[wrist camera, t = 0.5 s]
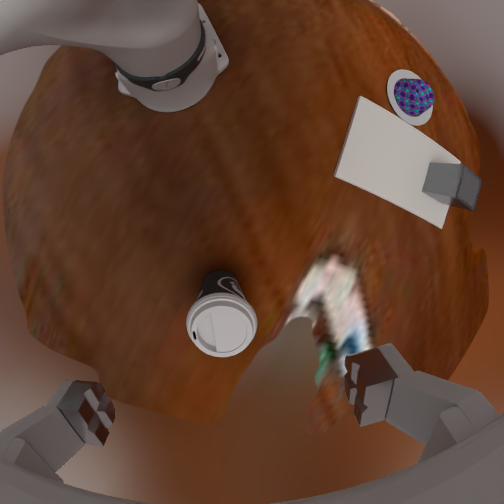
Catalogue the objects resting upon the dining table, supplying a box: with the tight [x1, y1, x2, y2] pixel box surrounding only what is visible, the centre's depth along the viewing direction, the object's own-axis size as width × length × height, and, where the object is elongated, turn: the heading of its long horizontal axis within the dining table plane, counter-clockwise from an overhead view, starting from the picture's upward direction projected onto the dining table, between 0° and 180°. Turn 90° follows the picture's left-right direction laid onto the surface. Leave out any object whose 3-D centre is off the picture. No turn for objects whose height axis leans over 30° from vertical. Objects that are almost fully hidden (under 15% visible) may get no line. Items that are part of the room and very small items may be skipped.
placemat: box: [333, 96, 461, 229], centre depth 47 cm, size 28×16×1 cm, turn 72°
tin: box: [422, 162, 482, 211], centre depth 43 cm, size 6×6×10 cm
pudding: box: [387, 70, 434, 126], centre depth 41 cm, size 12×12×5 cm
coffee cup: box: [186, 270, 257, 357], centre depth 43 cm, size 10×10×15 cm
